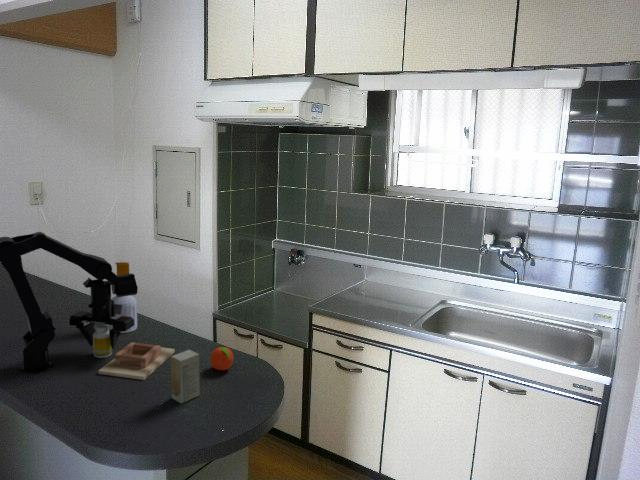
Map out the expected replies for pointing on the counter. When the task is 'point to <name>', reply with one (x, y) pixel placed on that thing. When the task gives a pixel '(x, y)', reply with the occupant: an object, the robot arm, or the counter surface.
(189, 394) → the skincare box
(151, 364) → the maple holder board
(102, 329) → the supplement bottle
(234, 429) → the counter surface
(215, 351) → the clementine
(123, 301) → the soap bottle
